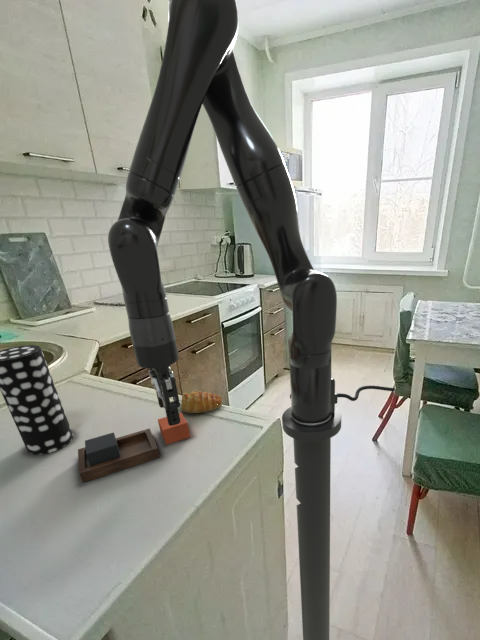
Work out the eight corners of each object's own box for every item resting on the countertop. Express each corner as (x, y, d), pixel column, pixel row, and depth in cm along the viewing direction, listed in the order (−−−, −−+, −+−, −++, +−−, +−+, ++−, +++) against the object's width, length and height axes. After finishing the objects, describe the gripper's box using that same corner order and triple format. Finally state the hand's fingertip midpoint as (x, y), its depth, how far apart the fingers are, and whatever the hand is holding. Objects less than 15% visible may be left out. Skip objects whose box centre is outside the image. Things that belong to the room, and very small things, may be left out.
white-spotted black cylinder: (70, 427, 79) (38, 342, 70) (76, 443, 73) (42, 352, 64) (26, 441, 74) (-14, 352, 66) (28, 460, 68) (-15, 364, 60)
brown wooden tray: (151, 437, 74) (149, 428, 73) (160, 457, 67) (157, 448, 66) (81, 458, 68) (77, 449, 67) (82, 483, 61) (78, 473, 61)
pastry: (223, 399, 88) (221, 385, 86) (221, 412, 82) (219, 398, 80) (185, 402, 87) (182, 388, 85) (180, 416, 81) (177, 401, 79)
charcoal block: (118, 447, 69) (113, 432, 68) (121, 460, 65) (116, 444, 64) (90, 455, 67) (84, 440, 65) (91, 470, 63) (85, 454, 62)
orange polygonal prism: (184, 426, 77) (181, 412, 75) (190, 437, 73) (187, 422, 71) (160, 433, 75) (157, 419, 73) (166, 444, 71) (162, 430, 69)
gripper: (184, 344, 61) (197, 425, 68) (166, 326, 72) (179, 396, 79) (138, 353, 57) (157, 437, 64) (126, 332, 69) (144, 405, 76)
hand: (169, 414), depth 72 cm, fingers open, 8 cm apart
